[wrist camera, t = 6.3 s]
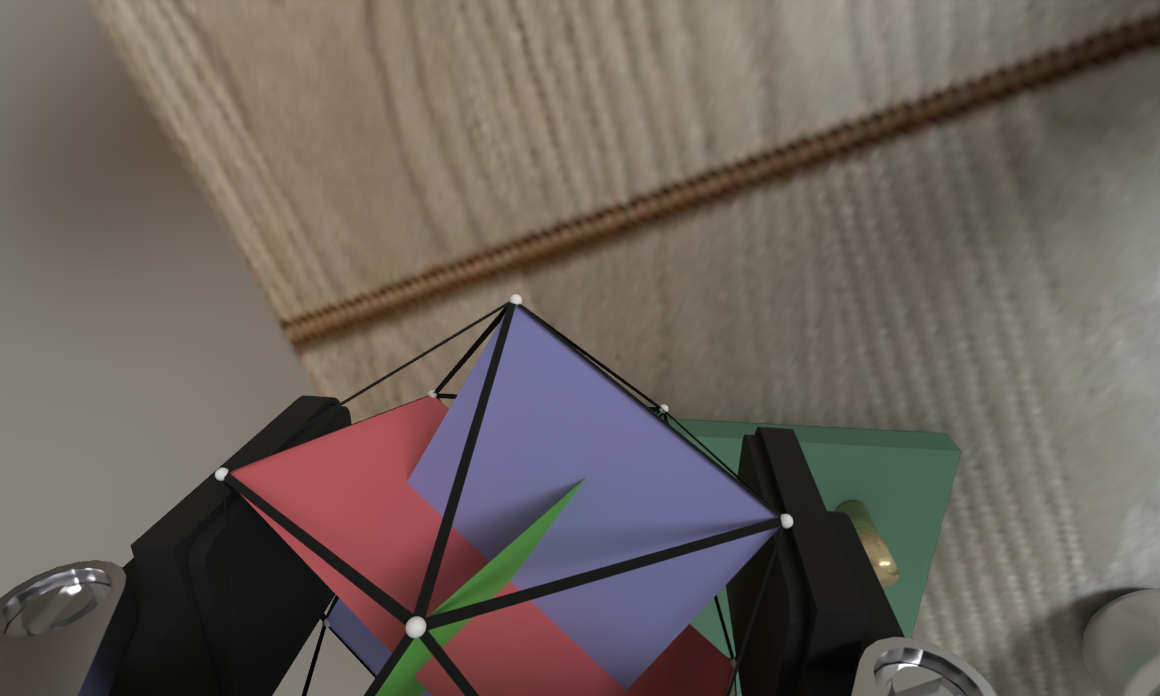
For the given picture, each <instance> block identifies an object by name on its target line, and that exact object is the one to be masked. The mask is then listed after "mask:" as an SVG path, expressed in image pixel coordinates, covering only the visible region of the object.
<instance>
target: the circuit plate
mask: <svg viewBox="0 0 1160 696" xmlns="http://www.w3.org/2000/svg"><path fill="white" fill-rule="evenodd" d="M663 420H664V419H663ZM675 420H677V421H678V422H679V423H680V424H681V425H682V426H683V427H684V428H685V429H687V430H688V431H689V432H690V433H691V434H692V435H693V436H694V437H695V438H697V439H698V440H699V441H700V442H701V443H702V444H703V445H704V446H706V447H707V448H708V449H709V450H710V451H711V452H712V453H713V454H714V455H716V456H717V457H718V458H719V459H720V460H721V461H722V462H723V463H724V464H726V465H727V466H728V467H729V468H730V469H731V470H732V471H733V472H735V473H736V474H737V475H738V469H739V462H740V454H741V447H742V441H743V437H744V435H745V434H748V435H755V431H756V429H757V427H771V428H786V429H793V430H794V432H795V434H796V437H797V439H798V441H799V444H800V446H801V449H802V451H803V454H804V456H805V459H806V461H807V463H808V466H809V468H810V471H811V473H812V476H813V478H814V480H815V483H816V485H817V488H818V490H819V493H820V495H821V497H822V500H823V502H824V505H825V507H826V510H827V511H835V510H836V508H837V506H838V505H839V504H840V503H842V502H844V501H846V500H858V501H861V502H862V503H864V504H865V506H866V508H867V509H868V511H869V513H870V515H871V517H872V519H873V521H874V523H875V525H876V527H877V529H878V531H879V533H880V535H881V537H882V538H883V540H884V542H885V544H886V546H887V548H888V550H889V552H890V554H891V556H892V558H893V560H894V562H895V564H896V566H897V567H898V570H899V577H898V579H897V581H896V582H895V583H894V584H892V585H891V586H889V587H886V588H883V590H884V592H885V595H886V597H887V599H888V601H889V603H890V605H891V608H892V610H893V612H894V614H895V616H896V619H897V621H898V623H899V625H900V627H901V630H902V632H903V634H904V636H905V638H911V636H912V632H913V628H914V624H915V621H916V617H917V613H918V610H919V606H920V602H921V599H922V595H923V591H924V587H925V584H926V580H927V576H928V573H929V569H930V565H931V561H932V558H933V554H934V550H935V547H936V543H937V539H938V536H939V532H940V528H941V524H942V521H943V517H944V513H945V510H946V506H947V502H948V498H949V495H950V491H951V487H952V484H953V480H954V476H955V472H956V469H957V465H958V461H959V458H960V454H961V450H960V449H959V448H958V447H957V446H956V444H955V443H954V442H953V441H952V440H951V439H950V437H949V436H948V435H947V434H946V433H927V432H907V431H888V430H869V429H850V428H831V427H812V426H793V425H774V424H755V423H736V422H717V421H697V420H678V419H675ZM668 422H669V424H670V425H671V426H672V427H673V428H675V429H676V430H677V431H678V432H680V433H681V434H682V435H683V436H684V437H686V438H687V439H688V440H689V441H691V442H692V443H693V444H694V445H696V446H697V447H698V448H699V449H701V450H702V451H703V452H704V453H706V454H707V455H708V456H709V457H710V458H712V459H713V460H714V461H715V462H717V463H718V464H719V465H720V466H722V467H723V468H724V469H725V470H727V469H726V468H725V467H724V466H723V465H722V464H721V463H720V462H719V461H717V460H716V459H715V458H714V457H713V456H712V455H711V454H710V453H709V452H708V451H706V450H705V449H704V448H703V447H702V446H701V445H700V444H699V443H698V442H697V441H695V440H694V439H693V438H692V437H691V436H690V435H689V434H688V433H687V432H686V431H684V430H683V429H682V428H681V427H680V426H679V425H678V424H677V423H676V422H675V421H673V420H672V419H668ZM727 471H728V470H727ZM728 472H729V473H730V474H732V473H731V472H730V471H728ZM732 475H733V474H732ZM733 476H734V475H733ZM734 477H735V476H734ZM735 478H736V477H735ZM736 479H737V478H736ZM717 597H718V601H719V604H720V608H721V611H722V615H723V619H724V622H725V626H726V629H727V633H728V636H729V640H730V644H731V647H732V651H733V654H734V658H735V656H736V653H735V646H734V639H733V632H732V626H731V619H730V612H729V605H728V598H727V591H726V585H725V586H724V587H723V588H722V589H721V590H720V591H719V593H718V594H717ZM689 624H691V625H692V626H693V627H694V628H695V629H696V630H697V631H698V632H700V633H701V634H702V635H703V636H704V637H705V638H706V639H707V640H709V641H710V642H711V643H712V644H713V645H714V646H715V647H716V648H718V649H719V650H720V651H721V652H722V653H723V654H724V655H725V656H727V657H729V658H731V657H730V654H729V650H728V646H727V643H726V639H725V636H724V632H723V629H722V625H721V621H720V618H719V614H718V611H717V607H716V603H715V600H714V598H713V599H712V600H711V601H710V602H709V603H708V604H707V605H706V606H705V607H704V608H703V609H702V611H701V612H700V613H699V614H698V615H697V616H696V617H695V618H694V619H693V620H692V621H691V622H690V623H689ZM736 689H737V696H742V694H741V687H740V681H739V674H738V672H737V675H736Z"/></svg>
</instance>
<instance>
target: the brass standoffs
mask: <svg viewBox="0 0 1160 696" xmlns="http://www.w3.org/2000/svg"><path fill="white" fill-rule="evenodd" d="M835 512H844V513H846V514H848V516H849V517H850V519H851V521H852V523H853V525H854V527H855V529H856V531H857V533H858V536H859V538H860V540H861V542H862V544H863V547H864V549H865V551H866V553H867V555H868V557H869V560H870V562H871V564H872V566H873V568H874V571H875V573H876V575H877V577H878V579H879V581H880V584H881V586H882V588H886V587H889V586H891V585H892V584H894V583H895V582H896V581H897V579H898V577H899V570H898V567H897V566H896V564H895V562H894V560H893V558H892V556H891V554H890V552H889V550H888V548H887V546H886V544H885V542H884V540H883V538H882V537H881V535H880V533H879V531H878V529H877V527H876V525H875V523H874V521H873V519H872V517H871V515H870V513H869V511H868V509H867V508H866V506H865V504H864V503H862V502H861V501H858V500H846V501H844V502H842V503H840V504H839V505H838V506H837V508H836V510H835Z"/></svg>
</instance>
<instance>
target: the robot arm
mask: <svg viewBox="0 0 1160 696" xmlns="http://www.w3.org/2000/svg"><path fill="white" fill-rule="evenodd" d="M338 404H340V402H339V400H338V399H336V398H333V397H318V396H301V397H300V398H298V399H297V400H296V401H294V402H293V403H292V404H291V405H290V406H289V407H288V408H286V409H285V410H284V411H283V412H282V413H281V414H280V415H279V416H277V417H276V418H275V419H274V420H273V421H272V422H271V423H269V424H268V425H267V426H266V427H265V428H264V429H263V430H261V431H260V432H259V433H258V434H257V435H256V436H255V437H254V438H252V439H251V440H250V441H249V442H248V443H247V444H246V445H244V446H243V447H242V448H241V449H240V450H239V451H238V452H236V453H235V454H234V455H233V456H232V457H231V458H230V459H228V460H227V461H226V462H225V463H224V464H223V465H222V466H220V467H219V468H226V469H228V470H230V469H232V468H234V467H235V466H237V465H239V464H240V463H242V462H244V461H245V460H247V459H249V458H250V457H252V456H253V455H255V454H257V453H258V452H260V451H262V450H263V449H265V448H267V447H268V446H270V445H272V444H273V443H275V442H277V441H278V440H280V439H282V438H283V437H285V436H287V435H288V434H290V433H292V432H293V431H295V430H297V429H298V428H300V427H302V426H303V425H305V424H307V423H308V422H310V421H312V420H313V419H315V418H317V417H318V416H320V415H322V414H323V413H325V412H326V411H328V410H330V409H331V408H333V407H335V406H336V405H338ZM349 425H352V424H351V417H350V412H349V410H348V408H347V407H345V406H340V407H338V408H337V409H335V410H333V411H332V412H330V413H328V414H327V415H325V416H323V417H322V418H320V419H318V420H317V421H315V422H313V423H312V424H310V425H308V426H307V427H305V428H303V429H302V430H300V431H298V432H297V433H295V434H293V435H292V436H290V437H288V438H287V439H285V440H283V441H282V442H280V443H278V444H277V445H275V446H274V447H272V448H270V449H269V450H267V451H265V452H264V453H262V454H260V455H259V456H257V457H255V458H254V459H252V460H250V461H249V462H247V463H245V464H244V465H246V464H249V463H252V462H254V461H257V460H259V459H262V458H265V457H267V456H270V455H273V454H275V453H278V452H281V451H283V450H286V449H289V448H291V447H294V446H296V445H299V444H302V443H304V442H307V441H310V440H312V439H315V438H318V437H320V436H323V435H325V434H328V433H331V432H333V431H336V430H339V429H341V428H344V427H347V426H349ZM244 465H242V466H244ZM240 467H241V466H240ZM219 468H218V469H219ZM218 469H217V470H218ZM217 470H216V471H217ZM216 471H215V472H216ZM215 472H214V473H213V474H211V475H210V476H209V477H208V478H207V479H206V480H205V481H203V482H202V483H201V484H200V485H199V486H198V487H197V488H195V489H194V490H193V491H192V492H191V493H190V494H189V495H187V496H186V497H185V498H184V499H183V500H182V501H181V502H180V503H178V504H177V505H176V506H175V507H174V508H173V509H172V510H170V511H169V512H168V513H167V514H166V515H165V516H164V517H162V518H161V519H160V520H159V521H158V522H157V523H156V524H155V525H153V526H152V527H151V528H150V529H149V530H148V531H147V532H145V533H144V534H143V535H142V536H141V537H140V538H139V539H137V540H136V541H135V542H134V543H133V544H132V545H131V548H132V552H133V555H134V558H133V559H132V560H131V561H130V562H128V563H127V564H126V565H125V566H124V567H123V568H122V567H120V566H118V565H116V564H114V563H113V562H108V561H100V560H93V561H82V562H75V563H72V564H68V565H64V566H60V567H56V568H54V569H51V570H49V571H46V572H44V573H41V574H39V575H36V576H34V577H32V578H30V579H29V580H27V581H25V582H23V583H21V584H20V585H18V586H16V587H14V588H13V589H12V590H10V591H9V592H8V593H6V594H5V595H4V596H2V597H1V598H0V696H239V690H238V677H237V664H236V651H235V638H234V626H233V613H232V600H231V587H230V574H229V561H228V548H227V535H226V530H227V527H228V536H229V548H230V561H231V574H232V587H233V599H234V612H235V625H236V638H237V650H238V663H239V676H240V689H241V696H272V695H273V694H274V692H275V690H276V688H277V687H278V685H279V684H280V682H281V681H282V679H283V677H284V676H285V674H286V673H287V671H288V669H289V668H290V666H291V665H292V663H293V661H294V660H295V658H296V657H297V655H298V653H299V652H300V650H301V649H302V647H303V645H304V644H305V642H306V641H307V639H308V637H309V636H310V634H311V633H312V631H313V629H314V628H315V626H316V625H317V623H318V621H319V620H320V618H321V617H322V615H323V613H324V612H325V610H326V608H327V607H328V605H329V604H330V602H331V601H332V599H333V597H334V596H335V593H334V592H333V591H332V590H331V589H330V588H329V587H328V585H327V584H326V583H325V582H324V581H323V580H322V579H321V578H320V577H319V576H318V575H317V574H316V573H315V572H314V571H313V570H312V569H311V568H310V567H309V566H308V565H307V563H306V562H305V561H304V560H303V559H302V558H301V557H300V556H299V555H298V554H297V553H296V552H295V551H294V550H293V549H292V548H291V547H290V546H289V545H288V544H287V542H286V541H285V540H284V539H283V538H282V537H281V536H280V535H279V534H278V533H277V532H276V531H275V530H274V529H273V528H272V527H271V526H270V525H269V524H268V523H267V522H266V520H265V519H264V518H263V517H262V516H261V515H260V514H259V513H258V512H257V511H256V510H255V509H254V508H253V507H252V506H251V505H250V504H249V503H248V502H247V501H246V499H245V498H244V497H243V496H242V495H239V496H238V497H237V498H236V499H235V497H236V496H237V495H238V492H237V491H236V490H233V492H232V493H233V494H234V496H235V497H234V496H233V494H232V493H231V492H230V490H229V489H228V487H227V486H226V484H225V483H224V485H225V497H226V510H227V525H226V522H225V510H224V497H223V484H222V481H219V480H217V479H216V477H215ZM738 476H739V477H740V478H741V479H742V480H743V481H745V482H746V483H747V484H748V485H749V486H750V487H751V488H752V489H753V490H755V491H756V492H757V493H758V494H759V495H760V496H761V497H762V498H764V499H765V500H766V501H767V502H768V503H769V504H770V505H771V506H772V507H774V508H775V509H776V510H777V511H778V512H779V513H780V514H781V515H782V514H788V515H790V516H791V517H792V519H793V525H792V526H791V527H790V528H784V531H783V534H782V537H781V540H780V543H779V546H778V549H777V552H776V555H775V558H774V561H773V564H772V568H771V571H770V574H769V577H768V580H767V583H766V586H765V589H764V592H763V595H762V598H761V601H760V604H759V607H758V610H757V613H756V617H755V620H754V623H753V626H752V629H751V632H750V635H749V638H748V641H747V644H746V647H745V650H744V653H743V656H742V659H741V662H740V666H739V669H738V674H739V681H740V687H741V694H742V696H997V694H996V693H995V691H994V689H993V688H992V686H991V685H990V684H989V683H988V682H987V681H986V680H985V679H984V678H983V677H982V675H981V674H980V673H979V672H978V671H977V670H976V669H975V668H973V667H972V666H970V665H969V664H968V663H966V662H965V661H963V660H962V659H961V658H959V657H958V656H957V655H955V654H953V653H951V652H949V651H947V650H945V649H943V648H941V647H939V646H937V645H935V644H931V643H928V642H924V641H921V640H917V639H914V638H905V636H904V634H903V632H902V630H901V627H900V625H899V623H898V621H897V619H896V616H895V614H894V612H893V610H892V608H891V605H890V603H889V601H888V599H887V597H886V595H885V592H884V590H883V588H882V586H881V584H880V581H879V579H878V577H877V575H876V573H875V571H874V568H873V566H872V564H871V562H870V560H869V557H868V555H867V553H866V551H865V549H864V547H863V544H862V542H861V540H860V538H859V536H858V533H857V531H856V529H855V527H854V525H853V523H852V521H851V519H850V517H849V516H848V514H846V513H844V512H835V511H827V510H826V507H825V505H824V502H823V500H822V497H821V495H820V493H819V490H818V488H817V485H816V483H815V480H814V478H813V476H812V473H811V471H810V468H809V466H808V463H807V461H806V459H805V456H804V454H803V451H802V449H801V446H800V444H799V441H798V439H797V437H796V434H795V432H794V430H793V429H786V428H771V427H757V429H756V431H755V435H748V434H745V435H744V437H743V441H742V447H741V454H740V462H739V469H738ZM740 482H741V481H740ZM741 483H742V482H741ZM780 528H781V527H780ZM780 528H779V529H778V530H777V531H776V532H775V533H774V534H773V535H772V536H771V537H770V538H769V539H768V540H767V542H766V543H765V544H764V545H763V546H762V547H761V548H760V549H759V550H758V551H757V552H756V553H755V554H754V555H753V556H752V557H751V559H750V560H749V561H748V562H747V563H746V564H745V565H744V566H743V567H742V568H741V569H740V570H739V571H738V572H737V573H736V574H735V576H734V577H733V578H732V579H731V580H730V581H729V582H728V583H727V584H726V591H727V598H728V605H729V612H730V619H731V626H732V632H733V639H734V646H735V653H736V660H738V657H739V654H740V651H741V648H742V645H743V642H744V639H745V636H746V633H747V630H748V626H749V623H750V620H751V617H752V614H753V611H754V608H755V605H756V602H757V599H758V596H759V593H760V590H761V587H762V584H763V581H764V578H765V575H766V572H767V568H768V565H769V562H770V559H771V556H772V553H773V550H774V547H775V544H776V539H777V536H778V533H779V530H780Z"/></svg>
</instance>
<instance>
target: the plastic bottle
mask: <svg viewBox="0 0 1160 696" xmlns="http://www.w3.org/2000/svg"><path fill="white" fill-rule="evenodd" d="M1082 657H1083V661H1084V665H1085V667H1086V669H1087V670H1088V672H1089V674H1090V676H1091V678H1092V680H1093V682H1094V684H1095V686H1096V688H1097V689H1098V691H1099V693H1100V695H1101V696H1160V589H1148V590H1140V591H1136V592H1132V593H1128V594H1126V595H1123V596H1121V597H1118V598H1116V599H1114V600H1112V601H1111V602H1109V603H1107V604H1106V605H1105V606H1103V607H1102V608H1101V609H1099V610H1098V611H1097V612H1096V613H1095V614H1094V615H1093V616H1092V618H1091V619H1090V621H1089V622H1088V624H1087V625H1086V628H1085V631H1084V634H1083V648H1082Z"/></svg>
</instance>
